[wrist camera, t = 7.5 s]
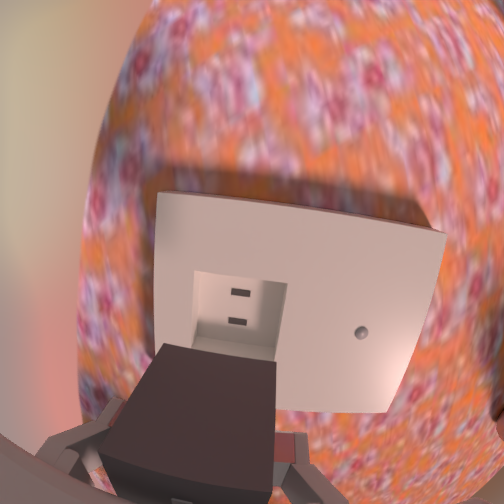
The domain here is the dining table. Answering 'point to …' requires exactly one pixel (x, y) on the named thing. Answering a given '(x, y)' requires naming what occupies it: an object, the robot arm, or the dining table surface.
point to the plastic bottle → (500, 426)
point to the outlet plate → (295, 293)
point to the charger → (195, 431)
